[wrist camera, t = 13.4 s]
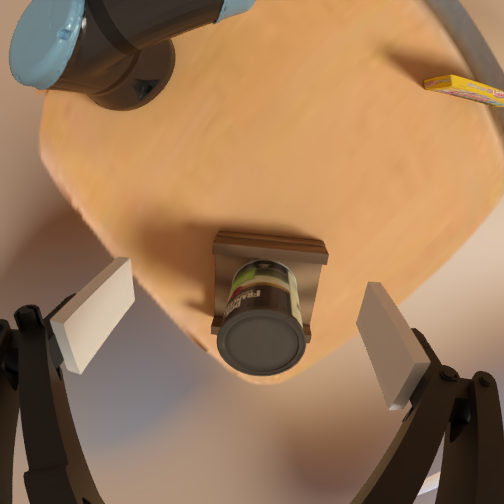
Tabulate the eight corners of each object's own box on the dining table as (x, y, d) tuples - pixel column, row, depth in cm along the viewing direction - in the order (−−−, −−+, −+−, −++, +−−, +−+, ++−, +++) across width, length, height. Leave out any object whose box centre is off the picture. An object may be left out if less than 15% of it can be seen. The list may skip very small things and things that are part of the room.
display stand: (219, 230, 44) (212, 241, 40) (323, 241, 44) (329, 252, 39) (216, 318, 50) (211, 335, 46) (306, 326, 50) (309, 344, 45)
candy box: (424, 91, 34) (451, 85, 26) (422, 79, 33) (449, 71, 25) (491, 108, 33) (520, 108, 25) (490, 97, 32) (519, 95, 24)
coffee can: (217, 286, 46) (198, 342, 32) (265, 244, 43) (263, 291, 29) (262, 326, 48) (259, 388, 35) (310, 290, 45) (324, 347, 32)
